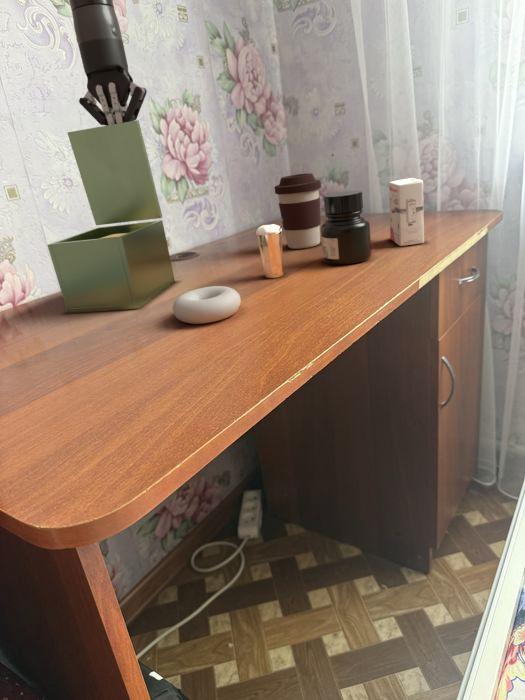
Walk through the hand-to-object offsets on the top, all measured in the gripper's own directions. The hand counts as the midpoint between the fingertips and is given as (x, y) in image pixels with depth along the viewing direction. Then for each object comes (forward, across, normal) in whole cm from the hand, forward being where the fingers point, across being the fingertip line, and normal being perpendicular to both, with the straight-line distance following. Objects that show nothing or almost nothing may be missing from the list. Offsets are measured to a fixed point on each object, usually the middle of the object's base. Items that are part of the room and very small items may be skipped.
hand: (124, 148), depth 92 cm
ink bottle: (+25, -39, -2) cm, 46 cm away
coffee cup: (+25, -28, -20) cm, 42 cm away
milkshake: (+25, -27, +6) cm, 37 cm away
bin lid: (+4, 0, +6) cm, 7 cm away
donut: (+25, -21, +26) cm, 41 cm away
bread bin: (+25, 0, +12) cm, 28 cm away
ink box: (+25, -50, -14) cm, 58 cm away
